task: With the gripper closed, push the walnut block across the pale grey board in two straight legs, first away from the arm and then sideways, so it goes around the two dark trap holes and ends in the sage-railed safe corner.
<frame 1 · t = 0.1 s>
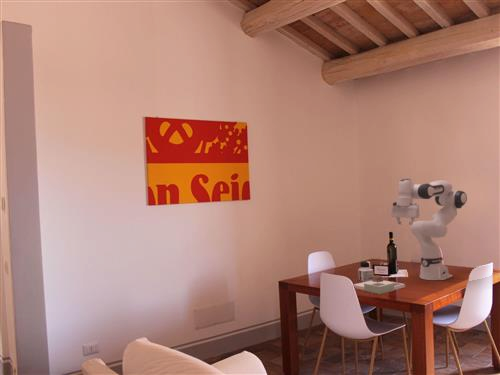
hand: (405, 224, 300), 39 cm above the table, tool pointing down, fingers open, 8 cm apart
container: (366, 280, 318), on the table
block: (377, 281, 304), point 2 cm above the table, touching trap board
trap board: (378, 287, 294), on the table
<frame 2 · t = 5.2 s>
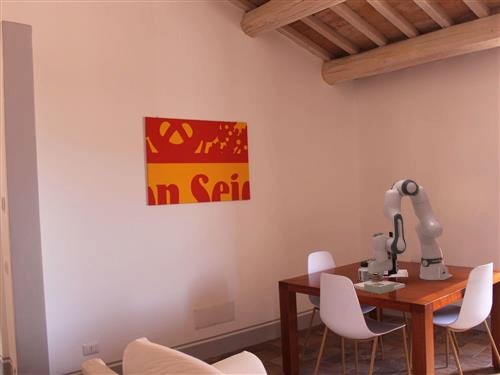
hand: (380, 278, 306), 3 cm above the table, tool pointing down, fingers closed
block: (376, 281, 304), point 2 cm above the table, touching gripper
everything else where it was.
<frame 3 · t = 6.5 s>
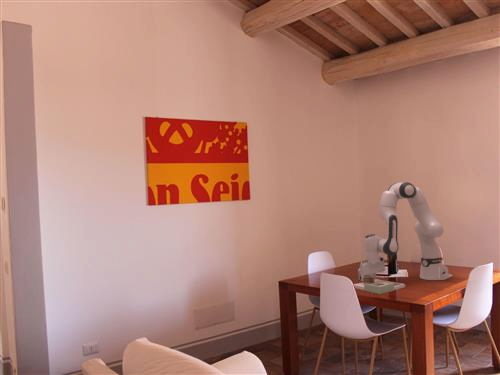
hand: (372, 280, 302), 3 cm above the table, tool pointing down, fingers closed
block: (368, 283, 300), point 2 cm above the table, touching gripper, trap board
everything else where it was.
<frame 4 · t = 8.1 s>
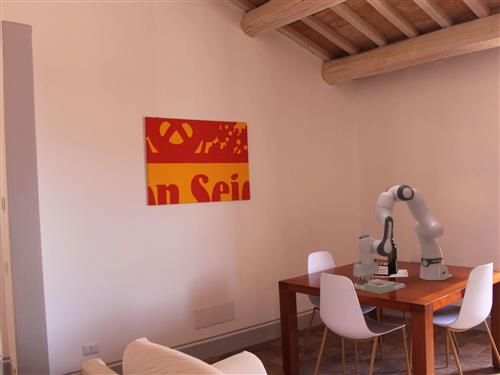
hand: (366, 281, 299), 3 cm above the table, tool pointing down, fingers closed
block: (362, 284, 297), point 2 cm above the table, touching gripper, trap board
everything else where it was.
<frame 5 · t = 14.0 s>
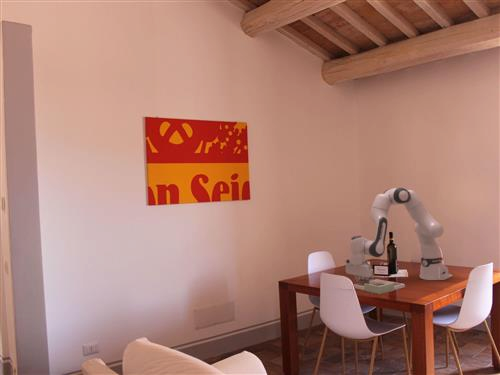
hand: (359, 282, 299), 3 cm above the table, tool pointing down, fingers closed
block: (363, 284, 296), point 2 cm above the table, touching trap board
everything else where it was.
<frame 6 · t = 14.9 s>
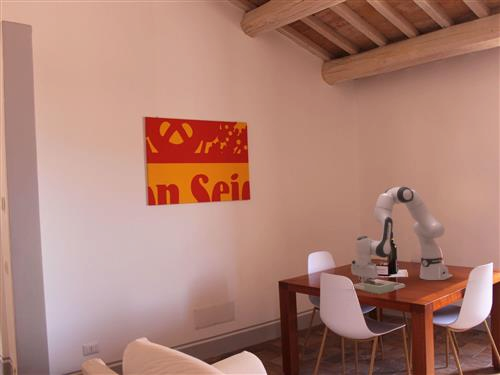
hand: (365, 283, 295), 3 cm above the table, tool pointing down, fingers closed
block: (369, 286, 291), point 2 cm above the table, touching gripper, trap board
everything else where it was.
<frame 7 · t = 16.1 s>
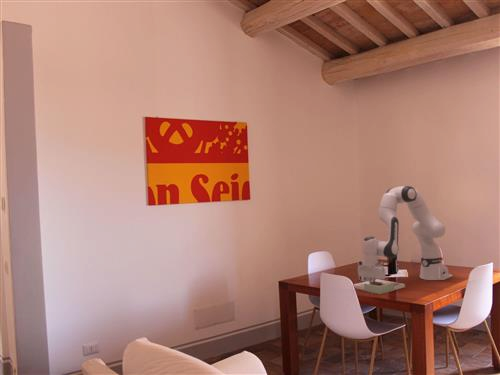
hand: (372, 284, 289), 3 cm above the table, tool pointing down, fingers closed
block: (376, 287, 286), point 2 cm above the table, touching gripper, trap board
everything else where it was.
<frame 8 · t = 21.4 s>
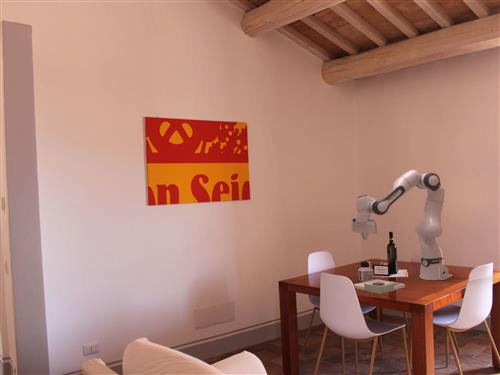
hand: (365, 239, 310), 29 cm above the table, tool pointing down, fingers closed
block: (378, 288, 285), point 2 cm above the table, touching trap board
everything else where it was.
at the end: block 0.4 cm from the target spot on the trap board, point 2.0 cm above the trap board's base; block tilted 0° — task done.
